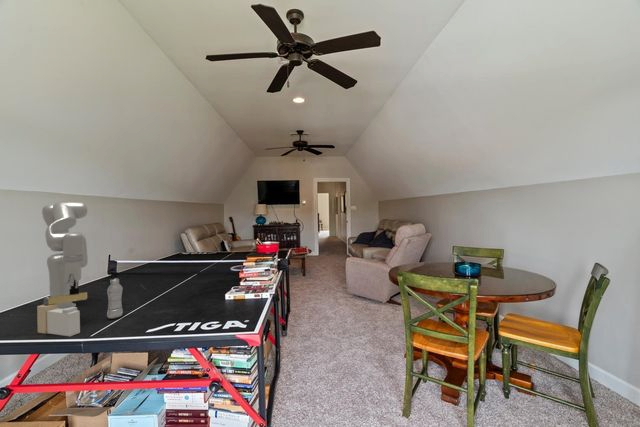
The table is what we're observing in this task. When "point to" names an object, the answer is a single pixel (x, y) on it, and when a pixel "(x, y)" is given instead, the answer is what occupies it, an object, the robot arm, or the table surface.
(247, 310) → the table surface
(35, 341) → the table surface
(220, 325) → the table surface
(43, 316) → the cream stepped two-tone block
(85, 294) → the swing bar
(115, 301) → the plastic bottle
